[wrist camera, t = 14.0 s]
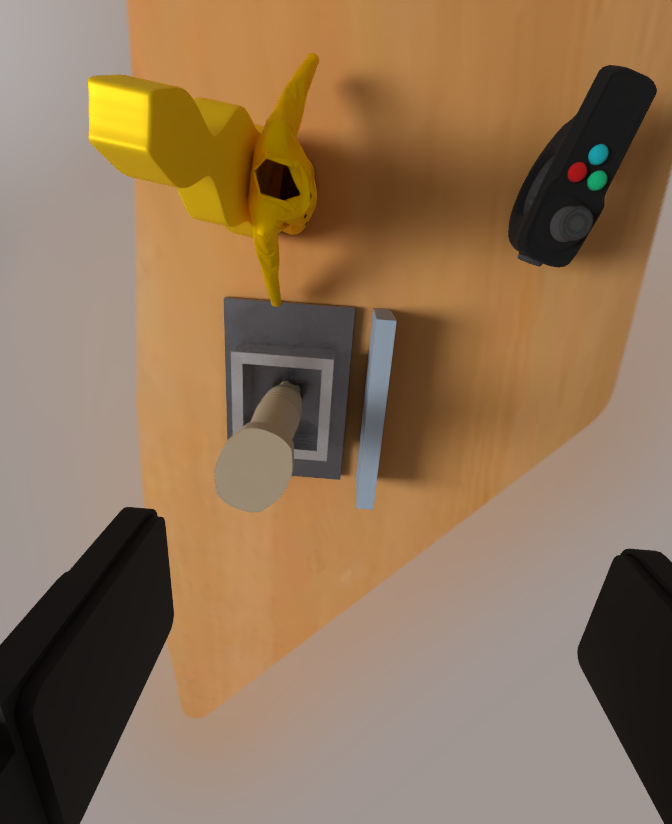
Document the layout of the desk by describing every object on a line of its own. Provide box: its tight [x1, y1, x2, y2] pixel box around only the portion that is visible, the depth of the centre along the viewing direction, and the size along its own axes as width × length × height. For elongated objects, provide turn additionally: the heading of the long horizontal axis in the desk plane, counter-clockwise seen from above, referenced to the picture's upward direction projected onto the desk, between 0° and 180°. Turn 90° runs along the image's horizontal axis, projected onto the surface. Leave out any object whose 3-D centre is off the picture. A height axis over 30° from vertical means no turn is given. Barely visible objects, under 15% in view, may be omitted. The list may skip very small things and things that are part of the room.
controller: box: [508, 65, 657, 267], centre depth 31 cm, size 4×12×10 cm, turn 160°
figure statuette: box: [88, 53, 319, 307], centre depth 26 cm, size 18×8×22 cm, turn 168°
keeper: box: [224, 297, 355, 480], centre depth 41 cm, size 18×12×4 cm, turn 176°
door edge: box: [356, 308, 397, 510], centre depth 40 cm, size 18×2×6 cm, turn 176°
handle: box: [215, 380, 302, 512], centre depth 35 cm, size 5×6×15 cm
